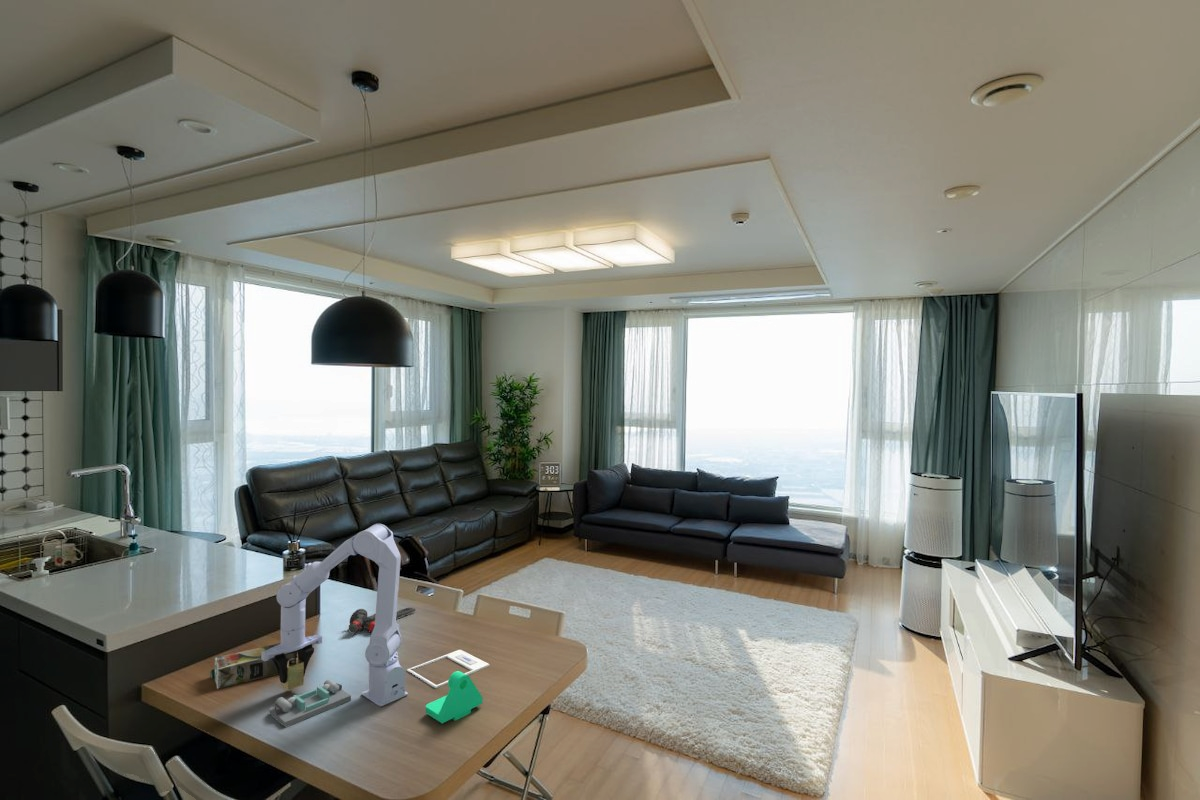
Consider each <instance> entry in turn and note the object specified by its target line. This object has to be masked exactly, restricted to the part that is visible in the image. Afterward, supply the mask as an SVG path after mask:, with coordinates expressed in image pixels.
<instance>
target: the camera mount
mask: <svg viewBox="0 0 1200 800" xmlns="http://www.w3.org/2000/svg"><path fill="white" fill-rule="evenodd" d="M447 681H448V684H447V686H448V688H449V690H448V692H447V695H444V696H442V697H440V698H438V699H436V700H433V701H431V702H429V703H427V704H426V705H425V714H426V715H428V716H430V717H431V718H433V719H435V720H436V721H437V722H439V723H441V724H444V723H446V722H448V721H450V720H453V721H457V720H459V719H462V718H464V717H465V716H468V715H470V714H471V713H472V709H474V708H476V707H478V706H480V705H482V704H483V701H484V700H483V696H482V693H480V690H478V688H477V686H476V685H475V683H474V682H473V680H472V679H471V677H470V676H469V675H466V674H464V673H463V672H462V671H459V670H457V671H454V672H452V674H451V675H450V676H449V678H448V680H447Z"/></svg>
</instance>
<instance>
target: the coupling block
mask: <svg viewBox="0 0 1200 800" xmlns="http://www.w3.org/2000/svg"><path fill="white" fill-rule="evenodd" d="M286 674H287V679H286V683H282V682H280V686H281V687H282V688H283V689H284V690H285V691H287V692H288V691H291V690H294V689H296V688H300V687H302V686H304V679H305V678H304V677H305V675H304V662H303V661H301V660H300V659H298V657H297V658H292V659H289V661H288V664H287V671H286Z"/></svg>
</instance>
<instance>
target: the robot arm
mask: <svg viewBox="0 0 1200 800" xmlns="http://www.w3.org/2000/svg"><path fill="white" fill-rule="evenodd" d="M358 554H359V555H360V556H363V557H364V558H366V559H369V560H371V561H372V562H375V564H376V565H378V577H377V592H376V602H375V603H376V604H375V614H376V615H375V626H374V629H373V631H372V633H370V637H369V644H368V645H367V646H366V648H365V654H364V655H365V659H366V661H367V662H368V689H367V690H365V691H362V693H361V695H362V696H363V697H365V698H366V699H368V700H369V701H371V702H373V703H374V704H375V705H377V706H378V707H383V706H385V705H387V704H390V703H392V702H394V701H397V700H399V699H402V698H404V697H405V696H408V694H409V693H408V692H407V690H406V671H405V668H404V667H402V666H401V665H400V661H399V653H398V649H399V648H400V647H401V645H402V635H401V632H400V624H399V623H398V622H397V617H396V614H397V611H398V599H399V586H400V571H401V563H402V562H401V559H402V557H401V553H400V551H399V548H398V547H397V544H396V541H395V539H394V532H393V531H392V530H391V529H390V528H389V527H388V526H387V525H385V524H382V523H375V524H373V525H371V526H369V527H368V528H366V529H365V530H362V531H359V532H358V533H356V534H355V535H353V536H351V537H350V538H348V539H347V540H345V541H344V542H342V544H340V545H339V546H337V548H336V549H334V550H333V551H332V552H331V553H330V554H328V556H327V557H325V558H324V559H323V560H322V561H313V562H309V563H307V564H306V565H304V570H302V571H301V572H300V573H298V574H294V575H293V576H292V577H291V578H290V580H291V581H289V582H288V583H286V584H283V585H281V587H280V588H278V590H277V593H276V601H277V603H278V604H279V605H280V643H281V644H279V645H277V646H275V647H272V648H270V649H268V650H266V651H263V652H261V659H262V660H263V661H268V660H269V659H272V661H273V662H274V664H275V666H276V668H277V671H278V674H277V675H278V676H279V677H278V678H279V681H280V683H281V682H282V683H286V679H287V674H286V671H287V664H288V659H287V658H286V655H285V654H286V653H289V652H292V651H296V650H297V658H298V659H300V660H301V661H303V662H304V676H306V675H305V674H306V671H307V669H308V668H307V667H308V664H309V662H310V659H311V657H312V656H313V654H314V652H315V648H314V647H313V645H320V644H322V643H323V636H322V635H321V634H320V633H319V634H315V635H314V634H313V635H310V636H309V635H308V636H306V603H307V601H306V600H307V598H308V596H309V595H310V594H311V593H312V592H313V591H314V590H316V589H317V588H318V587H319V586H321V585H322V584H323V583H324V582H326V581H327V580H328V579H329V578H330V577H329V576H330V572H331V570H332V569H334V568H335V567H336V566H337V565H339V564H340V563H341V562H343V561H344V560H345V559H347V558H348V557H349V556H357V555H358Z"/></svg>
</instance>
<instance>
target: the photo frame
mask: <svg viewBox="0 0 1200 800" xmlns="http://www.w3.org/2000/svg"><path fill="white" fill-rule="evenodd" d="M446 658H447V659H448V660H451V661H452V662H454V663H456V664H458V665H461V666H462V667H464V668H466V669H468V670H469V671H467V672H465V673H464V674H466V675H468V676H469V675H471V674H474V673H476V672H478V671H481V670H484V669H486V668H488V667H490V664H489V663H488V662H486V661H484V660H482V659H480V658H478V657H476V656H474V655H472V654H470V653H468V652H466V651H464V650H462V649H457V650H455V651H452V652H449V653H447V654H444V655H442V656H438V657H436V658H434V659H430V660H429V661H426V662H423V663H420V664H418V665H415V666H412V667H410V668H407V669H406V671H407V672H408V673H409V672H410V673H409V674H411V673H412V674H411V675H413V676H414V675H415V677H416V678H417V677H418V679H419V678H420V679H419V680H421V681H422V682H424V683H426V684H427V685H429V686H430V687H432V688H434V689H439V688H441V687H443V686H445V685H448V680H446V681H443V682H441V683H439V684H436V683H434V682H432V681H430V680H429V679H427V678H425V676H422V675H420V674H419V673H417V672H415V671H414V670H417V669H419V667H420V668H422V667H424V665H425V666H427V665H430V664H432V662H433V663H436V662H437V661H440V660H443V659H446ZM421 666H422V667H421ZM416 668H417V669H416Z"/></svg>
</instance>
